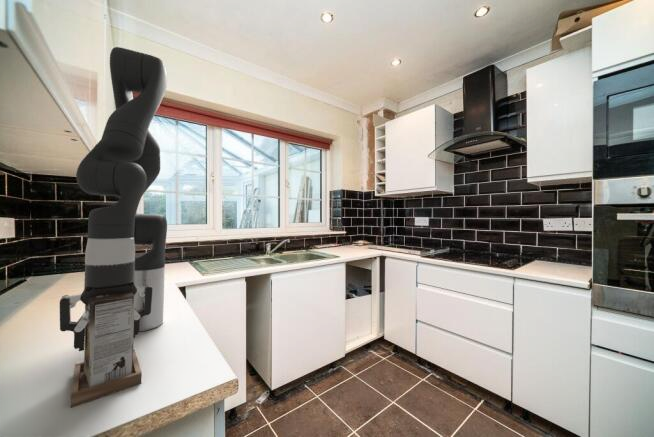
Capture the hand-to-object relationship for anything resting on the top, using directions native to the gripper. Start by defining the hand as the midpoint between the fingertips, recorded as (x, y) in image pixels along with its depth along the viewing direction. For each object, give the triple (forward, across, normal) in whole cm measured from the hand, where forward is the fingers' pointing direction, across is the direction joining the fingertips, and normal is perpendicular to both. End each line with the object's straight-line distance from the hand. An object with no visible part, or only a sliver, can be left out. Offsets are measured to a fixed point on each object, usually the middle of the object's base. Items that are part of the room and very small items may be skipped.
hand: (108, 342), depth 50 cm
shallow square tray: (+7, 0, 0) cm, 7 cm away
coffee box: (+6, 0, 0) cm, 6 cm away
